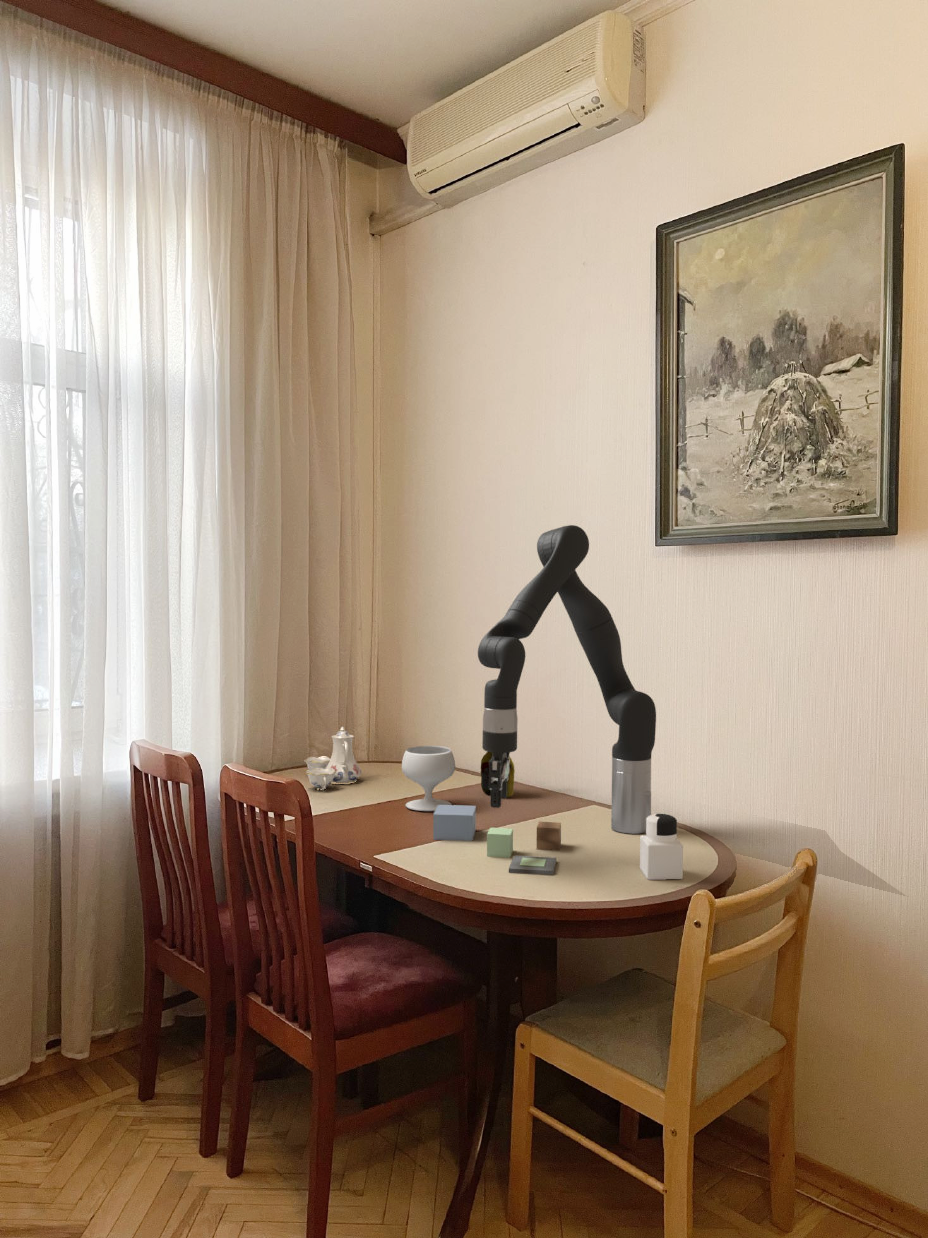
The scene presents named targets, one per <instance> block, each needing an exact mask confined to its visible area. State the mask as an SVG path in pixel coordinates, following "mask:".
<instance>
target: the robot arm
mask: <svg viewBox="0 0 928 1238" xmlns="http://www.w3.org/2000/svg"><path fill="white" fill-rule="evenodd" d="M589 540H590V539H589V536H588V535H587V532H586V531H585V530H584V529H582V527H580V526H578V525H573V524H572V525H571V524H567V525H562V526H561V527H557V528H555V529H554V528H553V529H551V530H547V531H545V532H543V533H541V535H540V536H539V537H538V538H537V542H536V552H537V555H538V558H539V561H540V563H541V565H542V566H543V568H542V569H541V570H540V571H539V572H538V573H537V574H536V575H535V577H533V578H532V580H530V581H529V582H528V583H527V584H525V586H524V587H523V588H522V589H521V591H519V593H518V594H517V595H516V597H515V599H514V600H513V602H512V604H511V605H510V607H509V608H508V610H507V612H506V613H505V615H504V617H502V618H501V619H500V620H499V621H498V622H497V623H496V624H495V625H494V626H493V627H492V628H491V629H489V631H488V632H487V633H486V634H485V635H483V637H482V638H481V640H480V642H479V645H478V648H477V658H478V661H479V662H480V664H481V665H482V666H484V667H486V668H490V669H496V670H497V669H498V670H499V674H498V677H497V678H495V679H491V680H488V681H487V682H486V683H485V686H484V697H483V698H484V701H483V702H484V704H483V705H484V707H483V714H482V715H483V716H482V743H481V744H482V746H481V747H482V749H483V750H484V751H485V752H487V751H488V752H492V753H493V755H492V757H491V760H489V784H488V787H489V789H490V790H491V794H490V802H489V803H490V807H491V808H497V809H499V808H501V807H502V799H503V800H505V799H506V798H508V797H507V782H506V781H508V776H509V774H510V773H509V763H510V759H509V756H510V753H513V752H515V751H517V749H518V724H519V723H518V720H519V719H518V710H517V705H518V704H517V703H518V700H517V699H518V687H519V684H520V680H521V676H522V672H523V669H524V667H525V662H526V649H525V647H524V644H523V643H522V641H521V640H522V639H526V638H528V637H529V636H531V634H532V633H533V632H534V630H535V628H536V626H537V625H538V623H539V621H540V620H541V618H542V616H543V614H544V612H545V611H546V609H547V608H548V606H549V605H550V603H551V601H552V600H553V599H554V597H555V596H556V594H558V596H559V598H560V601H561V603H562V604H563V607H564V609H565V611H566V613H567V615H568V618H569V620H570V621H571V624H572V627H573V629H574V632H575V635H576V637H577V639H578V641H579V644H580V645H581V647H582V649H583V652H584V653H585V657H586V658H587V660H588V663H589V666H591V669H592V671H593V673H594V675H595V677H596V680H597V682H598V685H599V687H600V690H601V691H600V692H601V693H602V697H603V701H604V704H605V708H606V710H607V712H608V715H609V717H610V719H611V720H612V721H613V722H614V723H615V724H616V725H618V737H617V738H618V739H617V742H615V743H614V744H613V745H612V747H611V806H610V808H611V816H610V817H611V818H610V823H611V824H610V827H611V829H612V830H614V831H615V832H618V833H621V834H622V833H624V834H633V835H634V834H635V835H636V834H637V835H638V834H646V818H647V817H648V816H650V815H652V752H653V749H654V747H655V743H656V729H657V725H656V724H657V710H656V709H657V708H656V704H655V702H654V700H653V698H652V697H651V696H650V695H648V694H647V693H646V692H642V691H640V690H636V689H635V687H634V685H633V683H632V682H631V680H630V677H629V675H628V673H627V672H626V668H625V666H624V663H623V655H622V652H623V651H622V643H621V636H620V634H619V630H618V629H617V625H616V622H615V620H614V619H613V617H612V614H611V612H610V611H609V608H608V607H607V606H606V604H604V602H602V600H601V599H600V598H599V597H598V596H596V595H595V594H594V593H593V592H592V591H591V590H590V589H589V588H588V587H587V586H586V585H585V584H584V582H583V581H582V580H581V578H580V577H579V575H578V573H577V571H576V569H577V568H578V567H579V566H580V564H582V563H583V561H584V560H585V558H586V557H587V555H588V553H589V550H590V541H589ZM493 781H497V783H493Z"/></svg>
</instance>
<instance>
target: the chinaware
mask: <svg viewBox="0 0 928 1238" xmlns="http://www.w3.org/2000/svg"><path fill="white" fill-rule="evenodd" d="M354 737H355V736H354V735H353V734H349V732H348V731H346V728H345V727H344V726H341V727H340V729H339V730H338V731H337V732H336V734H334V735H331V739H332V753H331V755H330V756H331V757H329V756H326V755H322V756H319V757H316V756H309V757H307V758H306V759H304V760H303V761H304V762H305V763H306V766H307V768H308V769H306V770H305V773H306V775H307V776H308V780H309V783H310V784H311V785H312V786H313V787H314V788H315V789H317V788H319V789H322V790H321V791H325V790H324V789H325V788H327V787H329V786H330V785H332V784H331V782H336V783H349V782H355V781H357V782H358V780H357V779H358V778H359V776H361V773H362V769H361V766H360V765H359V764H358V762H357V760H356V759H355V755H354V753H353V752H354V751H353V740H354V739H353V738H354Z"/></svg>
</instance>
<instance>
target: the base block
mask: <svg viewBox="0 0 928 1238" xmlns="http://www.w3.org/2000/svg"><path fill="white" fill-rule="evenodd" d="M432 816H433V817H432V819H433V821H432V823H433V824H432V825H433V827H432V829H433V830H432V832H433V833H432V834H433V836H432V839H433V840H437V841H439V840H440V841H465V842H466V841H469V842H471V841H473V840H474V837H475V834H476V831H477V828H476V827H477V826H476V825H477V818H476V817H477V806H476V805H465V804H464V805H463V804H462V805H461V804H459V805H458V804H456V805H455V804H453V805H438V806H437V808H436V810H435V811H433V815H432Z"/></svg>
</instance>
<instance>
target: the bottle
mask: <svg viewBox="0 0 928 1238" xmlns="http://www.w3.org/2000/svg"><path fill="white" fill-rule="evenodd" d="M492 755H493V753H492V752H488V751H486V753H485V754H483V756H482V758H481V760H480V778H481V779H480V786H481V789H482V791H483V793H485V794H486V795H487V794H488V795H491V790H490V789H489V787H488V784H489V760H491V757H492ZM509 759H510V763H509V773H510V774H509V776H508V781H506V782H507V797H506V798H510V797H512V796H513V794H514V785H515V770H516V769H515V764H514V762H513V758H511V756H510V755H509ZM493 783H497V781H493Z"/></svg>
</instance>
